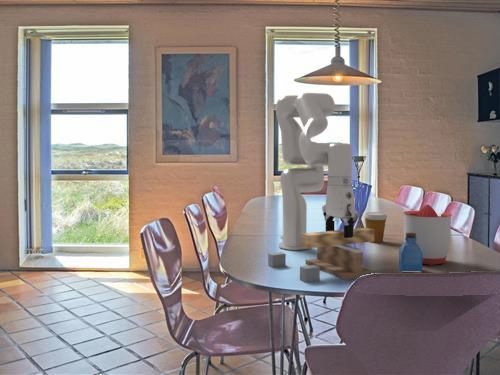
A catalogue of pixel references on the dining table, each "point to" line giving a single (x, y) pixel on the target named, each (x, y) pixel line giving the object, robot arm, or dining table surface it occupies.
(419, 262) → the perfume bottle
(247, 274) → the dining table surface
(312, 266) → the pair of grey cubes
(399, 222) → the dining table surface
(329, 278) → the dining table surface
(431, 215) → the citrus juicer
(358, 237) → the oak batten
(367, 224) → the disposable coffee cup
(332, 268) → the stand
